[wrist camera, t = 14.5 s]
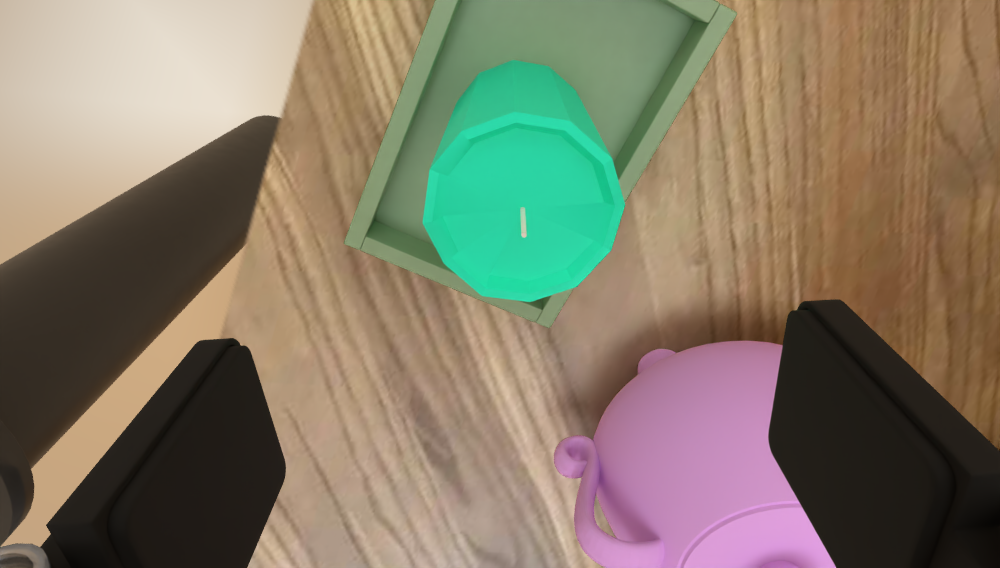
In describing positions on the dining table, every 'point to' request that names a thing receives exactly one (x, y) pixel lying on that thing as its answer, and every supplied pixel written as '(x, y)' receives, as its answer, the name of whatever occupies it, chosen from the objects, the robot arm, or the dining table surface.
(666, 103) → the tray
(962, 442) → the robot arm
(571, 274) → the candle
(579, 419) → the dining table surface
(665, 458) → the teapot
